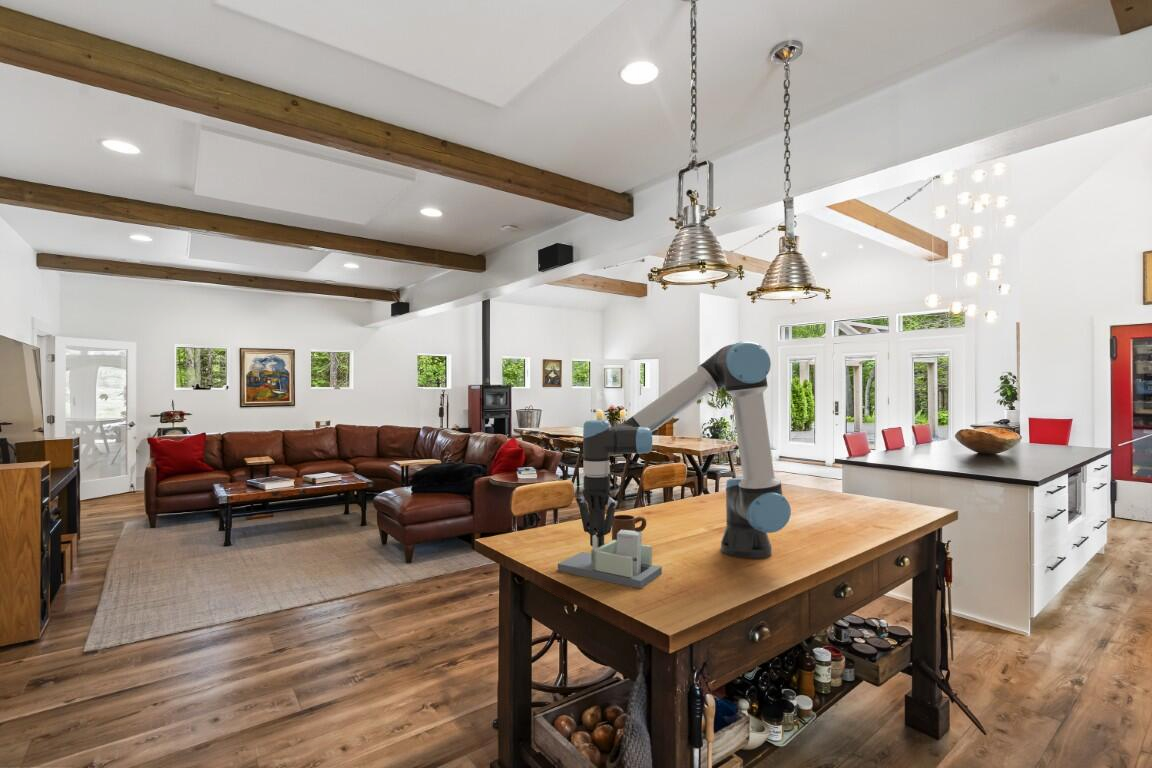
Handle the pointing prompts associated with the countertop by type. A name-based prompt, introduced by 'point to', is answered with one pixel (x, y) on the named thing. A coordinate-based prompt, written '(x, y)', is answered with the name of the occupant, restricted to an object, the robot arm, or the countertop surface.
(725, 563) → the countertop surface
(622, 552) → the skincare box
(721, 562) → the countertop surface
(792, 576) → the countertop surface
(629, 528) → the mug
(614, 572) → the housing
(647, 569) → the board
